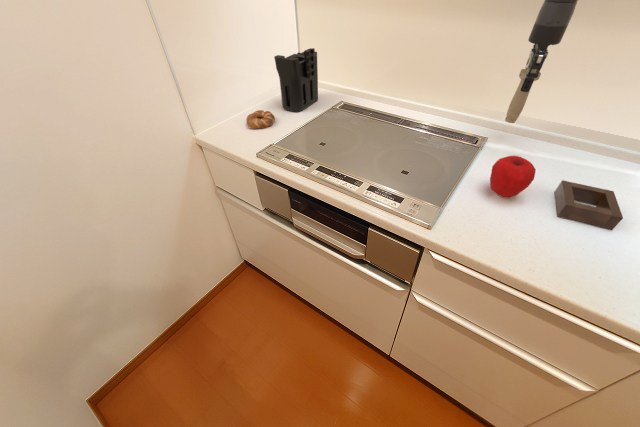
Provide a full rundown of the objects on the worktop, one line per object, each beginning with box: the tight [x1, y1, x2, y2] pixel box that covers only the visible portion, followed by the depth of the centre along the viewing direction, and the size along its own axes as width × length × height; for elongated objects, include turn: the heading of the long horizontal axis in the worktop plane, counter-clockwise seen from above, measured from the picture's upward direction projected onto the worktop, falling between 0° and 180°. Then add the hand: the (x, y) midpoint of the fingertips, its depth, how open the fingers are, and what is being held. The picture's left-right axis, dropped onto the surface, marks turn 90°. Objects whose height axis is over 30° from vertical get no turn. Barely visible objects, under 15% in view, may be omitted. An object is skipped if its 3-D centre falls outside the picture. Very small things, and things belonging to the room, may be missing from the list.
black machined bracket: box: [273, 47, 319, 113], centre depth 122 cm, size 12×21×22 cm, turn 149°
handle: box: [504, 68, 542, 124], centre depth 90 cm, size 5×6×15 cm
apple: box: [489, 155, 536, 199], centre depth 77 cm, size 10×10×11 cm
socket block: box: [554, 179, 624, 231], centre depth 73 cm, size 11×11×4 cm
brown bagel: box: [245, 109, 276, 130], centre depth 114 cm, size 12×11×4 cm
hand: (524, 87), depth 88 cm, fingers closed on handle, 6 cm apart
